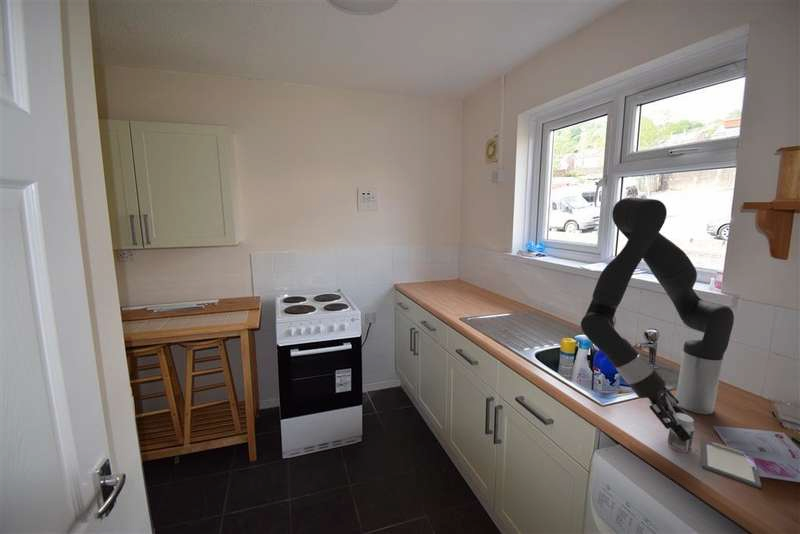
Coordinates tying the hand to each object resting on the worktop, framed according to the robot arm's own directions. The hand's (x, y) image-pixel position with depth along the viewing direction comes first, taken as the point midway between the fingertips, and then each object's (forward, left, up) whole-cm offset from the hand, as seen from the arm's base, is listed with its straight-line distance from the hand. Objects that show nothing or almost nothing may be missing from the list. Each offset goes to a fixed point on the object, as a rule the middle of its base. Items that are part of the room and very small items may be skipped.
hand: (687, 431), depth 91 cm
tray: (0, +8, -5) cm, 10 cm away
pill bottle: (0, -1, -5) cm, 5 cm away
